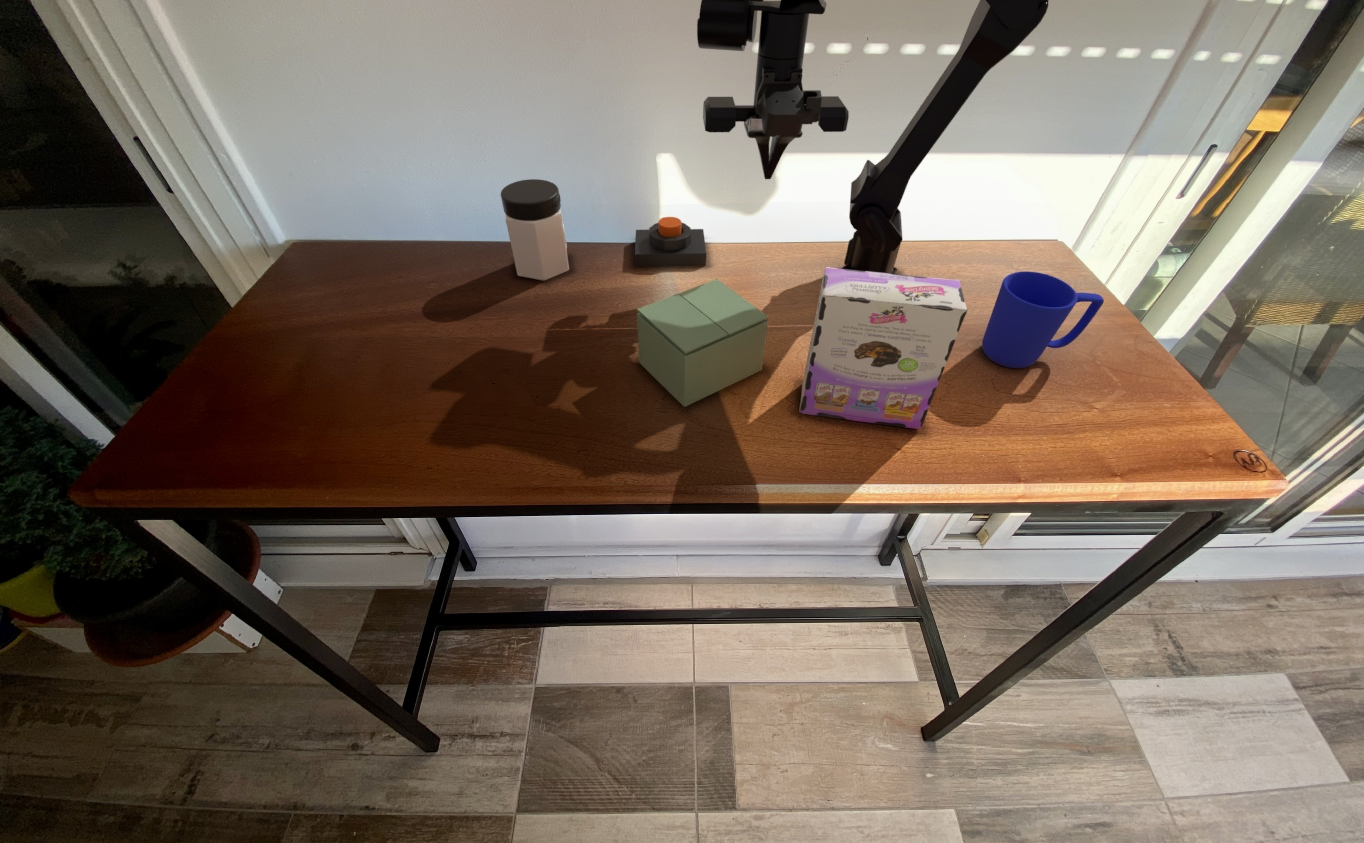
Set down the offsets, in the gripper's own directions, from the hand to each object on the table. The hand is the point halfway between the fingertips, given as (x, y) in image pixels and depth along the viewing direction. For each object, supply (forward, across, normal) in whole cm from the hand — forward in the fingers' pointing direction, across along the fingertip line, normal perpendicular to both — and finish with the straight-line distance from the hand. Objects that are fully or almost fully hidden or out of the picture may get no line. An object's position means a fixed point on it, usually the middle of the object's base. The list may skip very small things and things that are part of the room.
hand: (767, 178), depth 85 cm
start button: (+9, -14, +2) cm, 17 cm away
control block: (+13, -14, +2) cm, 19 cm away
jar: (+13, -34, -1) cm, 36 cm away
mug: (+13, +31, -25) cm, 42 cm away
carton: (+13, -11, -26) cm, 31 cm away
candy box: (+13, +8, -34) cm, 37 cm away
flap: (+5, -8, -25) cm, 26 cm away
